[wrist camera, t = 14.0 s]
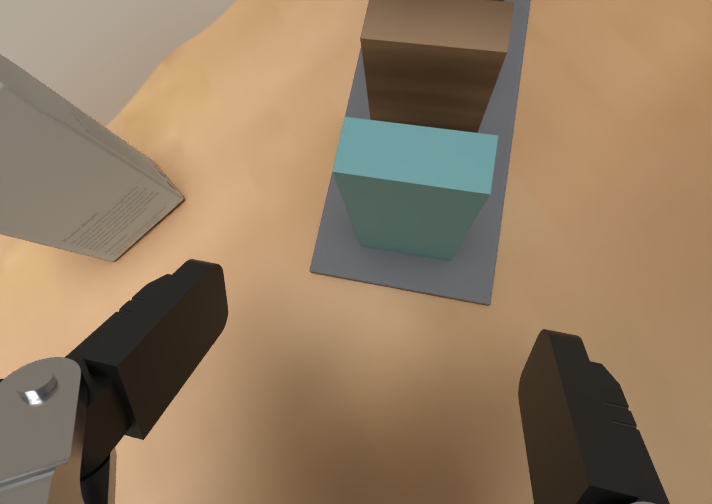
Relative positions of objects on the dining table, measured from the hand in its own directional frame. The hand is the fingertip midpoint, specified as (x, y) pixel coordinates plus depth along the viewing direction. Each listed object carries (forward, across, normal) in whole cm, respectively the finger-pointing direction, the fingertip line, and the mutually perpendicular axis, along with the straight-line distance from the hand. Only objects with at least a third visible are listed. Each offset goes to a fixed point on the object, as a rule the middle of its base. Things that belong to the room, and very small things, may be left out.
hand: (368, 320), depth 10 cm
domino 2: (+12, 0, +4) cm, 13 cm away
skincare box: (+12, +17, +6) cm, 21 cm away
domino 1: (+16, 0, +1) cm, 16 cm away
